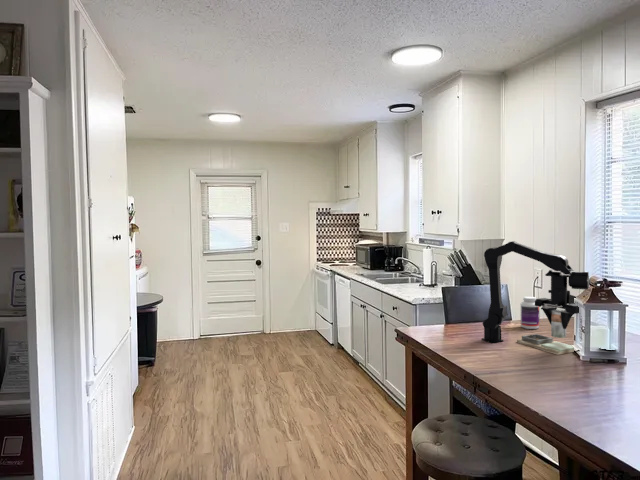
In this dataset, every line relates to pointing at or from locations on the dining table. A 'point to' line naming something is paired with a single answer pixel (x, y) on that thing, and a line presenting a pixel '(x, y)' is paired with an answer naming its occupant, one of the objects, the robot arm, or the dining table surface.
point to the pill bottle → (529, 313)
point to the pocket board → (546, 344)
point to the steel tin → (557, 324)
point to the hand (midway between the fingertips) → (558, 327)
